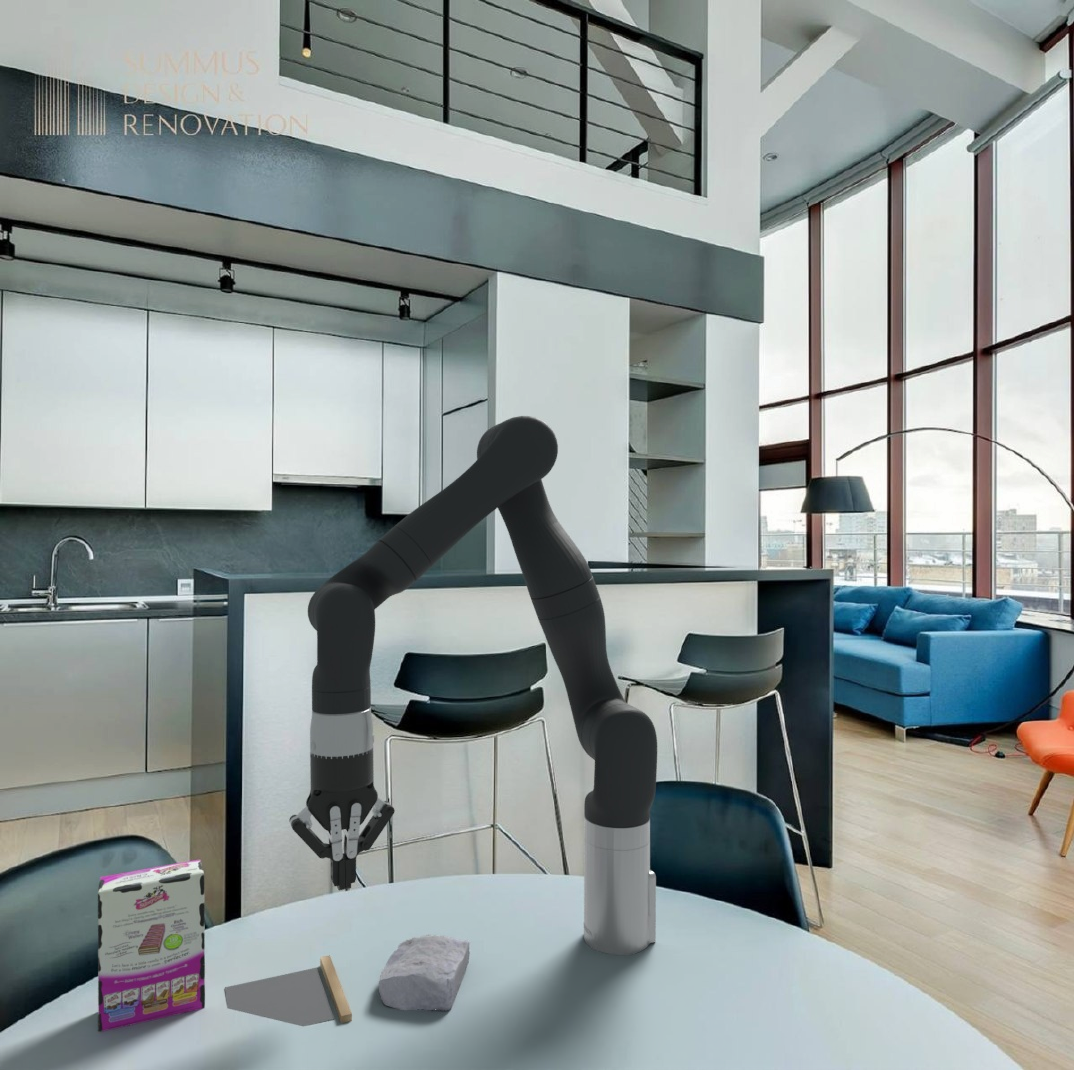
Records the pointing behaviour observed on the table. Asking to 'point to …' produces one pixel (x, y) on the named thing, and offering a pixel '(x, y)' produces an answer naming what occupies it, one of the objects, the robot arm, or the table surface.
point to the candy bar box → (151, 944)
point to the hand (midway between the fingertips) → (343, 886)
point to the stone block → (424, 973)
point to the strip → (335, 989)
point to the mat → (283, 998)
